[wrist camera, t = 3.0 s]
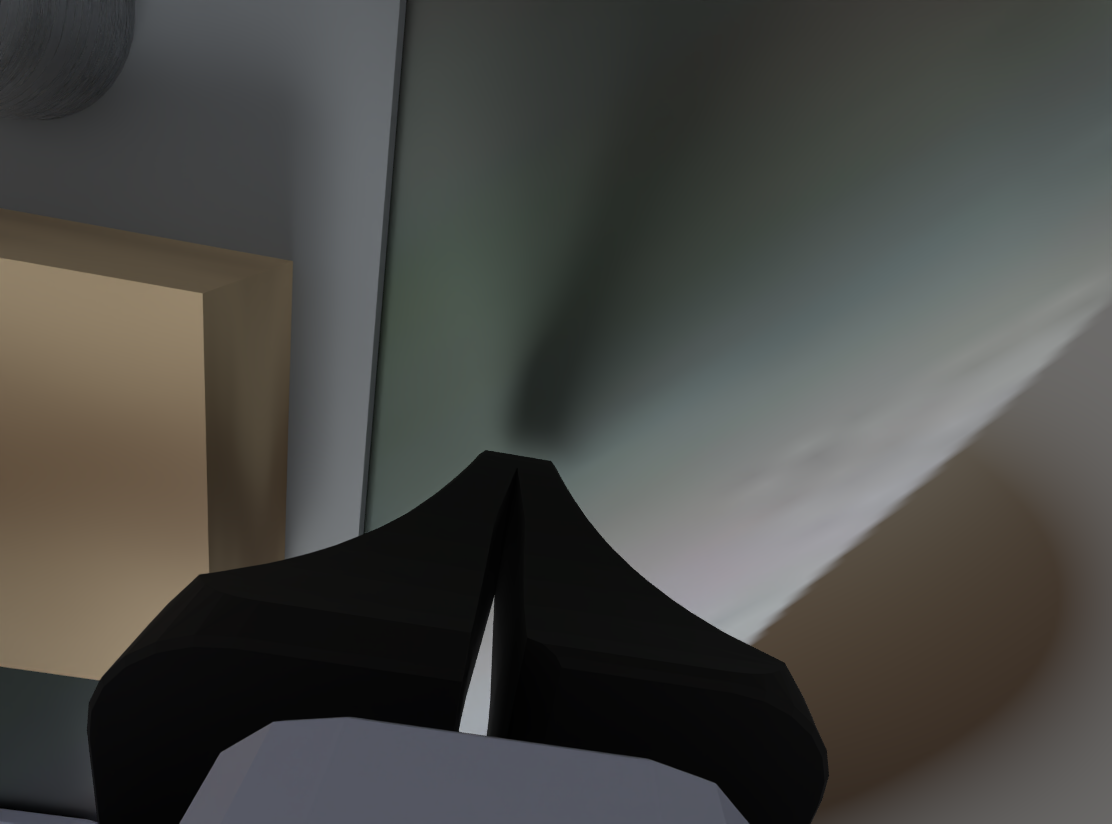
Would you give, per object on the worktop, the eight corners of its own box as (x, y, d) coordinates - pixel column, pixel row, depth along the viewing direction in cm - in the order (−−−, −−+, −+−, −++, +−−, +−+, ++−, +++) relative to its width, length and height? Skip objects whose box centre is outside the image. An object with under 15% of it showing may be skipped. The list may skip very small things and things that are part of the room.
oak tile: (283, 586, 14) (212, 695, 11) (-55, 536, 13) (-220, 635, 10) (293, 261, 11) (202, 293, 8) (-125, 185, 11) (-368, 192, 8)
